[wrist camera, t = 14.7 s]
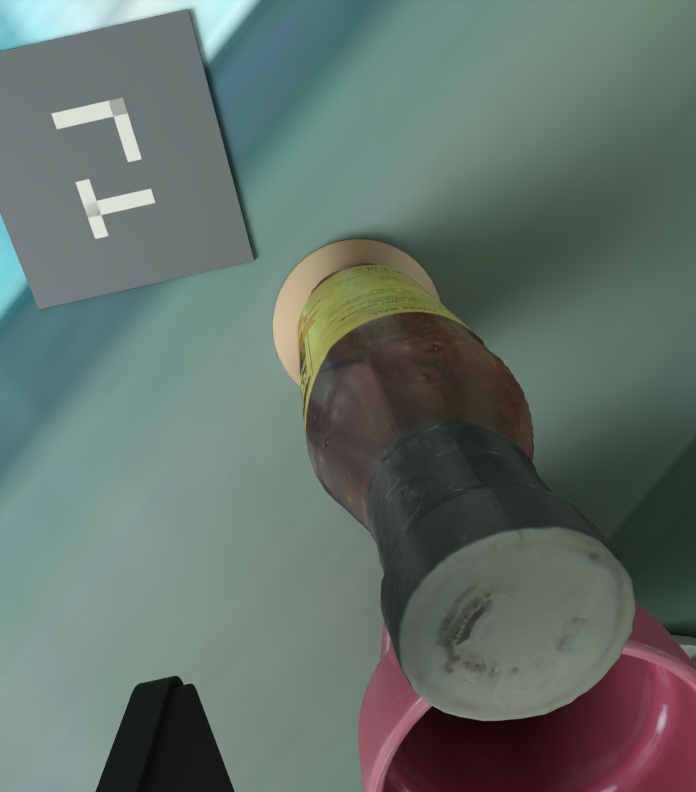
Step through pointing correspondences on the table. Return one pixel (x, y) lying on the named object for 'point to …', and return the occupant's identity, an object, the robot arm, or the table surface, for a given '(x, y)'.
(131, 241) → the gray card
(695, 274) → the table surface
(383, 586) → the sauce bottle
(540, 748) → the plant pot
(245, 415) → the table surface
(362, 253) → the coaster
